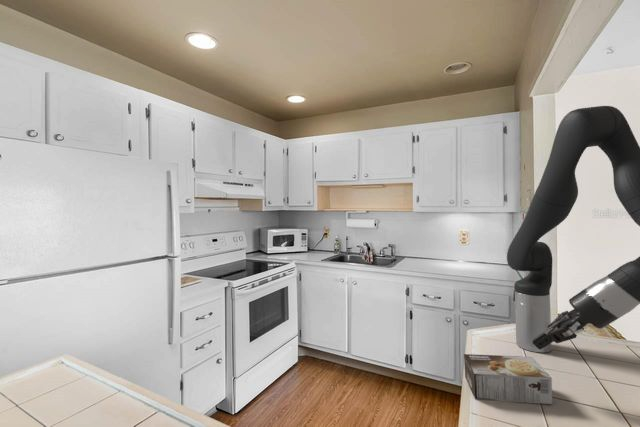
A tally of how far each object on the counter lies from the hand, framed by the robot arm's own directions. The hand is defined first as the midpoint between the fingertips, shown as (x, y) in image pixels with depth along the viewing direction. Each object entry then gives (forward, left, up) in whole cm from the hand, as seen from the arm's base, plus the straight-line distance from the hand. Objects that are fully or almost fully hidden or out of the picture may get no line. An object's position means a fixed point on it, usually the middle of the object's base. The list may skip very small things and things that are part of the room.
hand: (535, 345), depth 73 cm
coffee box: (+1, +1, -7) cm, 8 cm away
